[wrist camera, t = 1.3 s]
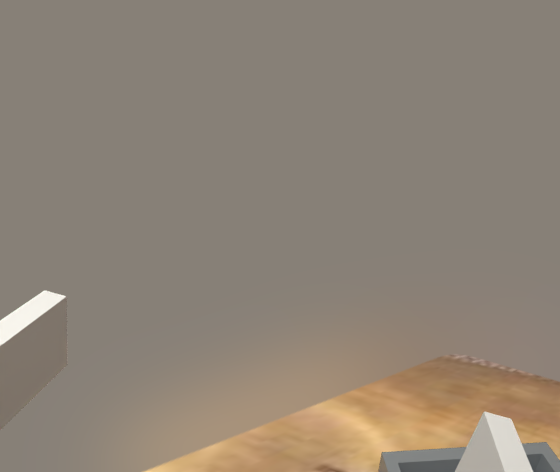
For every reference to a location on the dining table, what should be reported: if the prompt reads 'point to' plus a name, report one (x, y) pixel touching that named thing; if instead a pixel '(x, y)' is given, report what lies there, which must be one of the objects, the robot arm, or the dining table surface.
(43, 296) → the robot arm
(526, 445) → the tray
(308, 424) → the dining table surface
